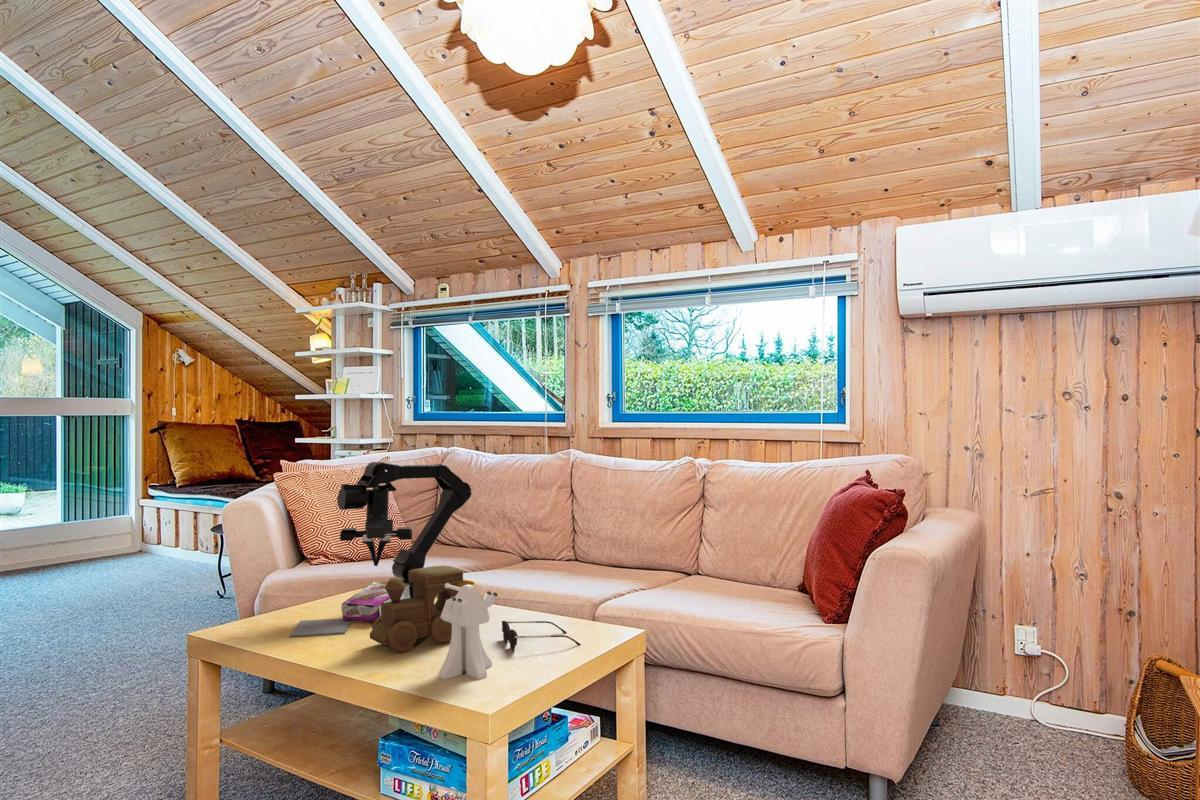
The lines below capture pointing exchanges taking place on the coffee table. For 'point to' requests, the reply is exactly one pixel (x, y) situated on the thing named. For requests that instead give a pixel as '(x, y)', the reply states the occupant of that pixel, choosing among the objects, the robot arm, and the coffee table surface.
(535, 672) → the coffee table surface
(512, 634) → the sunglasses
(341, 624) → the mat
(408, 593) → the candy bar box
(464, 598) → the toy gun turret
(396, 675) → the coffee table surface
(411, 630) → the wooden toy train
